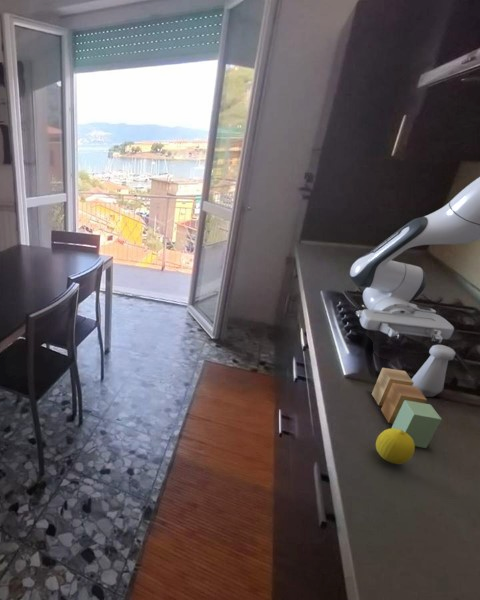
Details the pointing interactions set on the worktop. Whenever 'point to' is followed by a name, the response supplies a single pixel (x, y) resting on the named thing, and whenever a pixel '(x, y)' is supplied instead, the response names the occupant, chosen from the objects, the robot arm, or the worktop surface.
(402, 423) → the block
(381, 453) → the lemon
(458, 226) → the robot arm
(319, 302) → the worktop surface
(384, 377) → the block
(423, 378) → the salt shaker
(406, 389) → the block
